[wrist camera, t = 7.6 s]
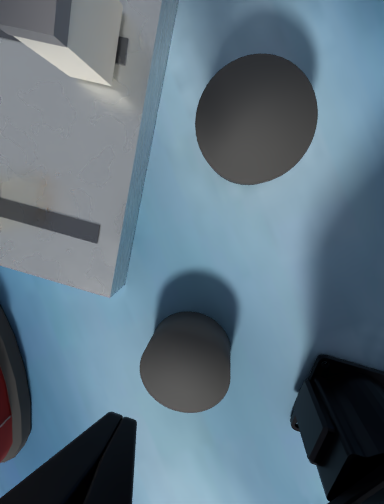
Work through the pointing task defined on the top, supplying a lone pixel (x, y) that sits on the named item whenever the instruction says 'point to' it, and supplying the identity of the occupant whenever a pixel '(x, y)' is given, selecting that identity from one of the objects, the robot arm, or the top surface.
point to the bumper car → (12, 395)
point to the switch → (68, 33)
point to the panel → (79, 154)
